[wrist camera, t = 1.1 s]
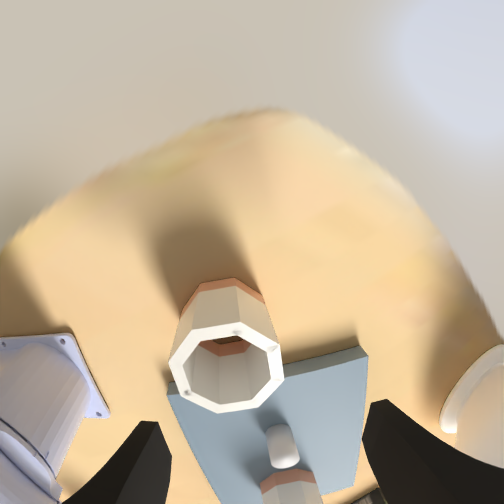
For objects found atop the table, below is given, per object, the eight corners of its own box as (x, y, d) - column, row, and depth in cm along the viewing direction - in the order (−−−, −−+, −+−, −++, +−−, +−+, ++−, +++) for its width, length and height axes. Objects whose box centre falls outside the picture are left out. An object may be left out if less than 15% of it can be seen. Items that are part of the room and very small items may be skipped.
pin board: (225, 501, 24) (227, 532, 20) (169, 382, 19) (160, 425, 15) (349, 476, 25) (361, 505, 20) (360, 345, 20) (387, 379, 16)
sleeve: (195, 355, 19) (188, 416, 13) (177, 287, 18) (158, 334, 12) (269, 343, 19) (287, 401, 13) (258, 272, 18) (275, 315, 12)
